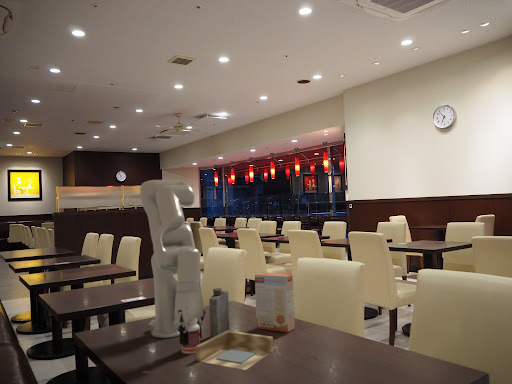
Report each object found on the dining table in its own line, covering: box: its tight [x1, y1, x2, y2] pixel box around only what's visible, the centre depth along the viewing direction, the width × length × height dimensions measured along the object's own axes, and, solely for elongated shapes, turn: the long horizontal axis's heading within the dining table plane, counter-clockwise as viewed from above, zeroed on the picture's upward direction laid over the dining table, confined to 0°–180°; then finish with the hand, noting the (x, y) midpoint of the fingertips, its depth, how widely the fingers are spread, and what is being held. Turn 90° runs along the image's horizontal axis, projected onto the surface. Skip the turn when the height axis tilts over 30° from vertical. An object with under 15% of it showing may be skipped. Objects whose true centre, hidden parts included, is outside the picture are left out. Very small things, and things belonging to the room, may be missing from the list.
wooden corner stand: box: [195, 330, 274, 371], centre depth 132 cm, size 18×18×5 cm
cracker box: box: [254, 272, 296, 333], centre depth 162 cm, size 14×6×21 cm, turn 58°
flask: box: [208, 287, 230, 339], centre depth 151 cm, size 4×14×18 cm, turn 165°
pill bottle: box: [181, 318, 201, 355], centre depth 139 cm, size 6×6×11 cm
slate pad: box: [216, 349, 256, 364], centre depth 131 cm, size 9×9×1 cm
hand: (190, 340), depth 139 cm, fingers closed on pill bottle, 6 cm apart
